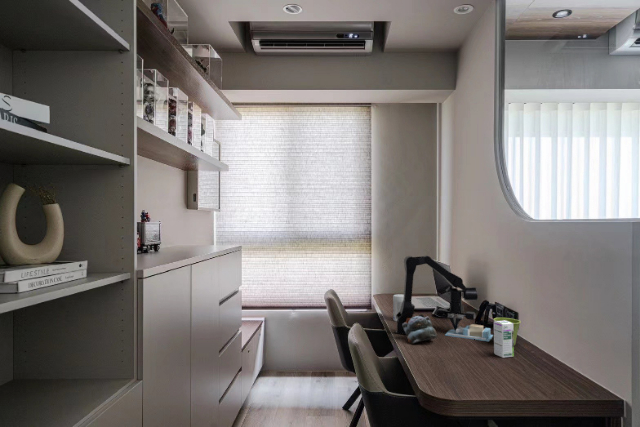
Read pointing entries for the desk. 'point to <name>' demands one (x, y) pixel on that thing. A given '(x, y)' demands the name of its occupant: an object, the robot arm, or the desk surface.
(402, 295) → the supplement tub
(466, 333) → the sliding jaw
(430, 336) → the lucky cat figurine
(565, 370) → the desk surface
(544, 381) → the desk surface
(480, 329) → the beech block
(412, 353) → the desk surface
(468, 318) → the robot arm
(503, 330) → the syrup box
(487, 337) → the vise base
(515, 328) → the plant pot
